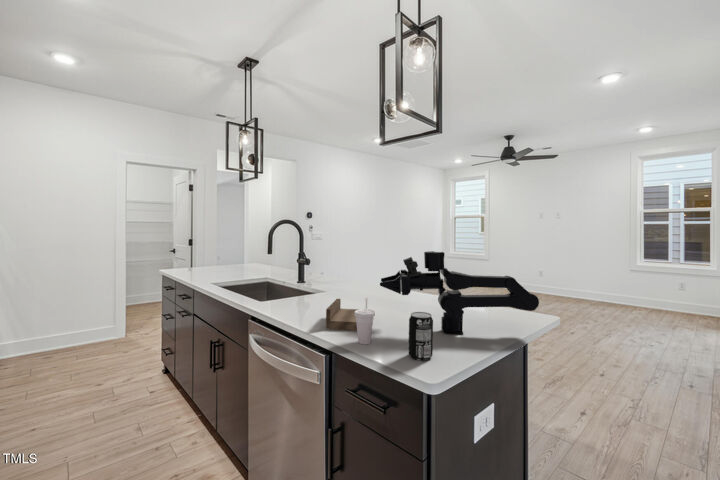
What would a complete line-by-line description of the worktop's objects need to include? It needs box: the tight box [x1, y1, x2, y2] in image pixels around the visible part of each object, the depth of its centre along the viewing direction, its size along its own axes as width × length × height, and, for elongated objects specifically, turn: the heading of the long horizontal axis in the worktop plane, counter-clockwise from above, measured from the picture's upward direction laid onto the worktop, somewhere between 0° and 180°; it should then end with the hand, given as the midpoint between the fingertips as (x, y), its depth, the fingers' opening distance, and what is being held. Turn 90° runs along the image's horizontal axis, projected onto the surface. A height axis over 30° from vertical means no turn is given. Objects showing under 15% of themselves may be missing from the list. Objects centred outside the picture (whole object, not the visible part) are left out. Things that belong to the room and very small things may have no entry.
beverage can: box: [408, 311, 434, 361], centre depth 93 cm, size 7×7×12 cm
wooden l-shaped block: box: [325, 298, 360, 332], centre depth 126 cm, size 14×18×7 cm
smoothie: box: [354, 297, 376, 345], centre depth 105 cm, size 6×6×14 cm
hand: (380, 281), depth 119 cm, fingers open, 9 cm apart
